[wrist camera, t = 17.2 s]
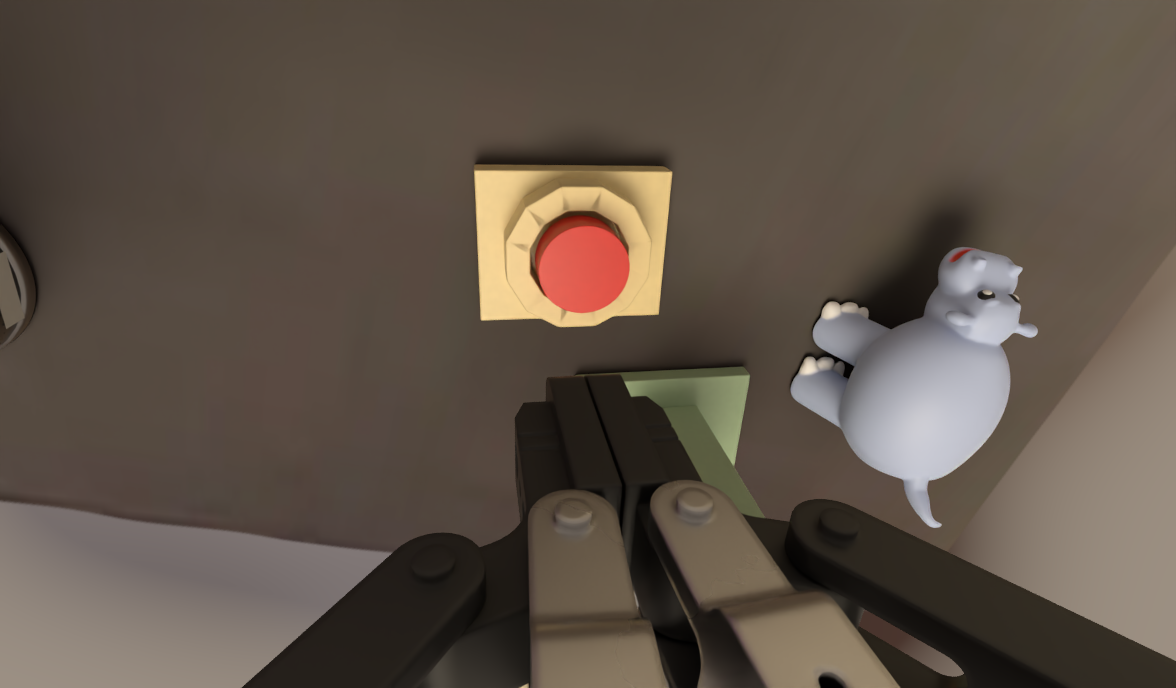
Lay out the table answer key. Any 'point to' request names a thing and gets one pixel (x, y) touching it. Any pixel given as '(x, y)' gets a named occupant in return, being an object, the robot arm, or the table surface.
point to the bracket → (703, 420)
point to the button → (581, 264)
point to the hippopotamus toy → (920, 373)
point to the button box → (548, 194)
